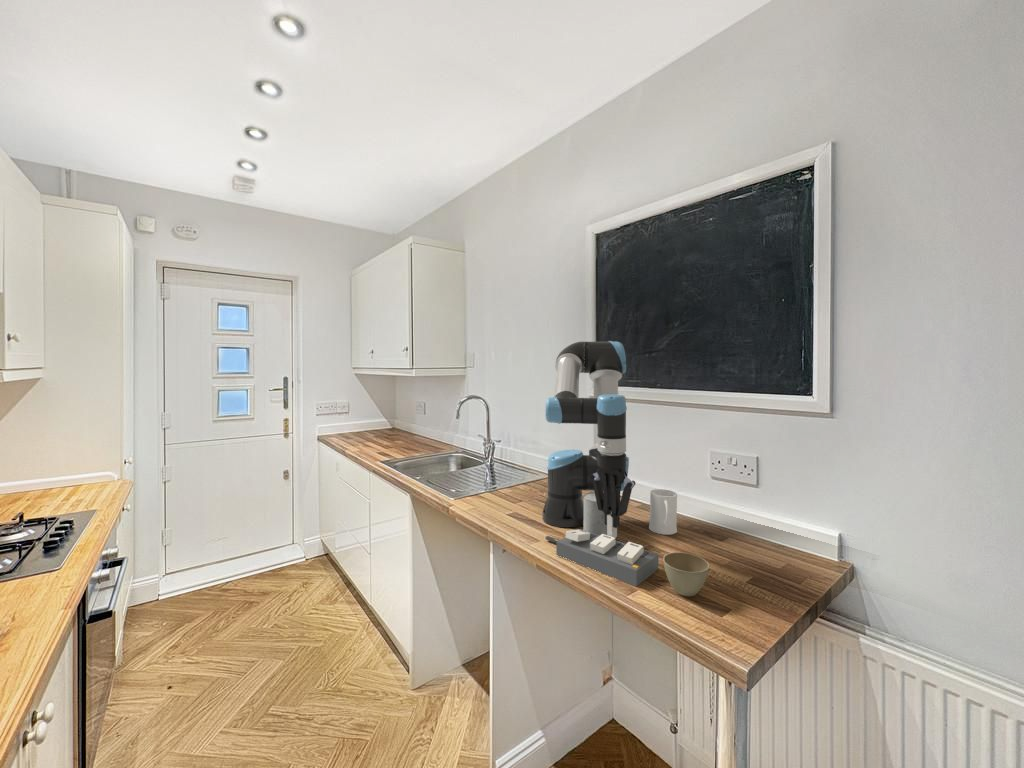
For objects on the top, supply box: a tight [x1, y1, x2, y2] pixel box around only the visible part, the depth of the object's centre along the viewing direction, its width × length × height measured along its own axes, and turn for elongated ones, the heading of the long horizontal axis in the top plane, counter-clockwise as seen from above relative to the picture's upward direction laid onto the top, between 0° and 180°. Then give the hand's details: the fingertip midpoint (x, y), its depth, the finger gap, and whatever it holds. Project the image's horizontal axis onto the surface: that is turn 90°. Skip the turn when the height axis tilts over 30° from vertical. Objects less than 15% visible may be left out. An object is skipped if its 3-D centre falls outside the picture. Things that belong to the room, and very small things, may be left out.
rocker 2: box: [590, 534, 617, 554], centre depth 116 cm, size 4×6×2 cm, turn 137°
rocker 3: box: [617, 541, 645, 565], centre depth 110 cm, size 4×6×2 cm, turn 137°
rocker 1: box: [564, 529, 590, 542], centre depth 121 cm, size 4×6×2 cm, turn 137°
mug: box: [648, 488, 678, 536], centre depth 138 cm, size 12×8×12 cm
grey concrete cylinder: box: [582, 491, 612, 535], centre depth 134 cm, size 10×10×12 cm
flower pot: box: [662, 551, 710, 597], centre depth 102 cm, size 10×10×7 cm
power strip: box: [545, 529, 660, 588], centre depth 120 cm, size 33×12×4 cm, turn 47°
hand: (612, 537), depth 119 cm, fingers closed
